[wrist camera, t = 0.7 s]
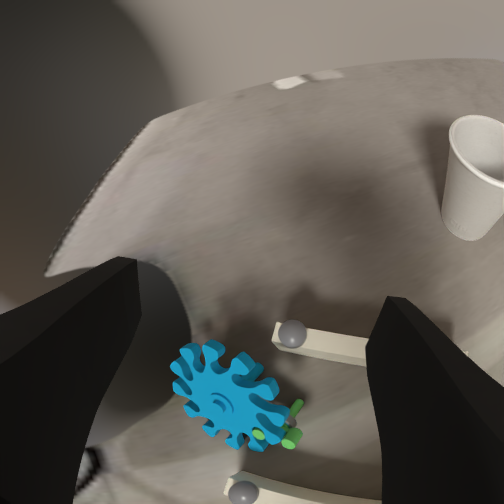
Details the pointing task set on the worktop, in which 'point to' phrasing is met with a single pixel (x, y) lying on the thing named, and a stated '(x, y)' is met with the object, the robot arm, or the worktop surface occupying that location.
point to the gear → (234, 398)
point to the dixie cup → (474, 177)
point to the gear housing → (314, 345)
